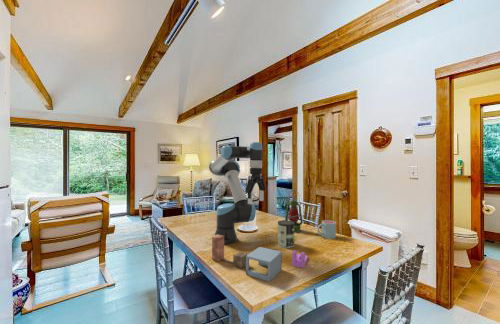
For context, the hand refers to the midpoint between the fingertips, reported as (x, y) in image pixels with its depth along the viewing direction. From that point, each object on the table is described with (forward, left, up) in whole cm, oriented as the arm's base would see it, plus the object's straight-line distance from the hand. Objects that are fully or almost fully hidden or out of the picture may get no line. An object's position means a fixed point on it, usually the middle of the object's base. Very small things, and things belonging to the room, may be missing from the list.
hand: (256, 202), depth 138 cm
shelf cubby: (+19, -26, -27) cm, 42 cm away
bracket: (+30, -6, -27) cm, 41 cm away
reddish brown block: (-1, -26, -27) cm, 38 cm away
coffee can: (+15, +12, -27) cm, 33 cm away
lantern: (+9, +43, -27) cm, 51 cm away
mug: (+33, +41, -27) cm, 59 cm away
